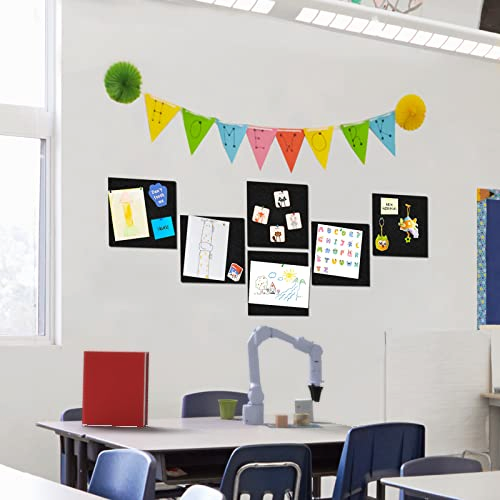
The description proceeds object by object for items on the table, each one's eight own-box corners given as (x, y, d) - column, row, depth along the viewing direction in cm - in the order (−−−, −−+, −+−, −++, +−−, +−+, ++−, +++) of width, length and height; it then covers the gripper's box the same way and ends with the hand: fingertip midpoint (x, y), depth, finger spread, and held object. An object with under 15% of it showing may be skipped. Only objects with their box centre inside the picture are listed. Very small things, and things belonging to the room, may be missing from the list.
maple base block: (296, 426, 441) (296, 414, 441) (293, 424, 447) (293, 413, 447) (309, 426, 442) (309, 414, 442) (306, 424, 448) (306, 413, 448)
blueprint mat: (270, 429, 432) (270, 427, 432) (263, 425, 448) (263, 423, 448) (324, 428, 436) (324, 427, 436) (316, 425, 452) (316, 423, 452)
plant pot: (240, 418, 478) (241, 400, 478) (231, 420, 469) (232, 401, 470) (223, 417, 482) (223, 399, 482) (214, 419, 473) (214, 400, 474)
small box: (313, 421, 463) (312, 398, 463) (313, 422, 457) (312, 399, 458) (296, 421, 464) (295, 398, 464) (295, 423, 458) (294, 400, 459)
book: (147, 426, 437) (149, 351, 440) (143, 427, 429) (144, 352, 432) (86, 424, 441) (88, 350, 443) (80, 426, 433) (82, 351, 435)
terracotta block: (277, 427, 435) (277, 415, 436) (275, 426, 440) (275, 414, 440) (287, 427, 436) (287, 415, 436) (285, 426, 440) (285, 414, 441)
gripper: (326, 371, 448) (327, 402, 448) (321, 370, 463) (321, 399, 462) (311, 371, 448) (311, 402, 447) (306, 370, 462) (306, 400, 461)
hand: (315, 401), depth 454 cm, fingers open, 7 cm apart
